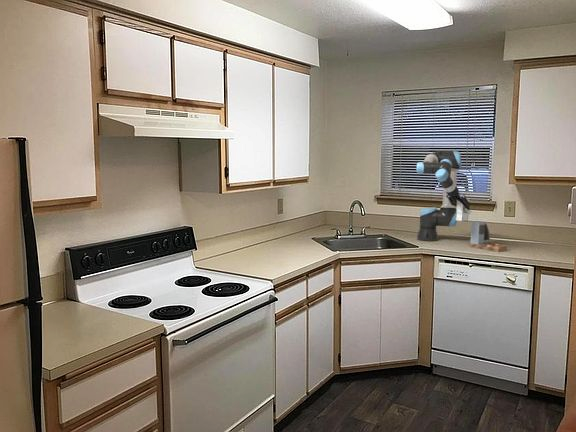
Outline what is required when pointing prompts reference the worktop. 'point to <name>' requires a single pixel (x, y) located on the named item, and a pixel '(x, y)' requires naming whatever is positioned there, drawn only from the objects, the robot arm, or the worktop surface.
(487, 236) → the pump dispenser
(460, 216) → the syrup box
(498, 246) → the rail
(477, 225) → the blue-grey tall block
